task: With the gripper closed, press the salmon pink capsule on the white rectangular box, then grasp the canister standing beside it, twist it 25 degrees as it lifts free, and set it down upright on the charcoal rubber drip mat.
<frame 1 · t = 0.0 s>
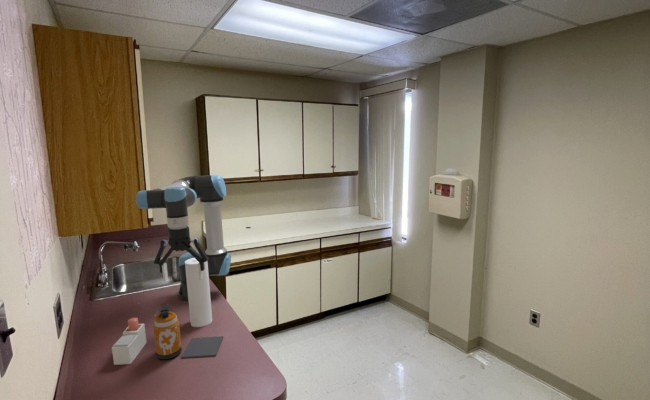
hand: (183, 279, 137), 28 cm above the countertop, fingers open, 13 cm apart
canister: (169, 352, 136), on the countertop
salmon pink capsule: (133, 329, 139), point 8 cm above the countertop, slide at 0.0 cm
white rectangular box: (131, 353, 136), on the countertop
cylinder container: (201, 322, 159), on the countertop
drip mat: (203, 347, 139), on the countertop
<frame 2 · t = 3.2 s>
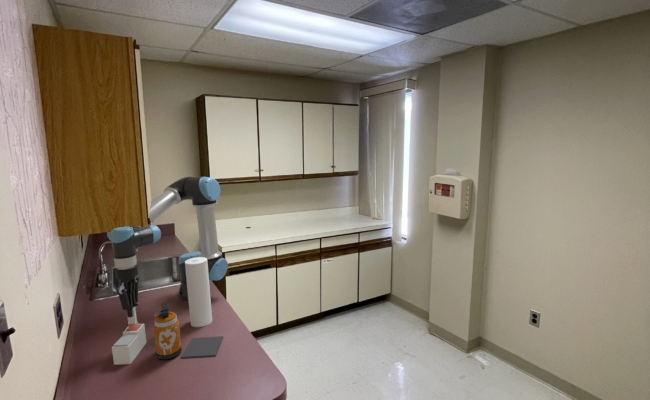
hand: (132, 322, 138), 11 cm above the countertop, fingers closed
salmon pink capsule: (134, 332, 139), point 6 cm above the countertop, slide at 1.5 cm, touching gripper
everything else where it was.
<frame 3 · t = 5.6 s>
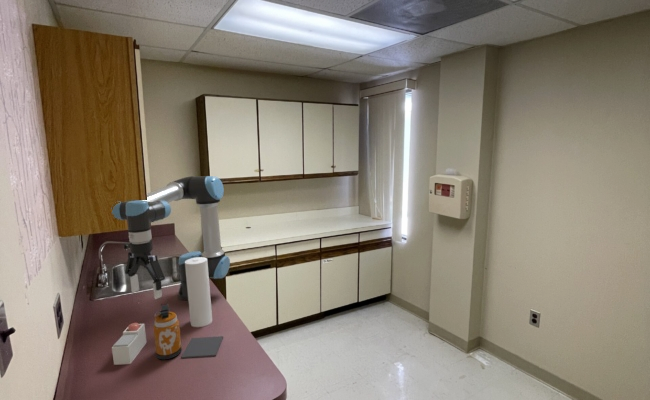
hand: (146, 294, 134), 24 cm above the countertop, fingers open, 13 cm apart
salmon pink capsule: (134, 334, 139), point 6 cm above the countertop, slide at 2.3 cm
everything else where it was.
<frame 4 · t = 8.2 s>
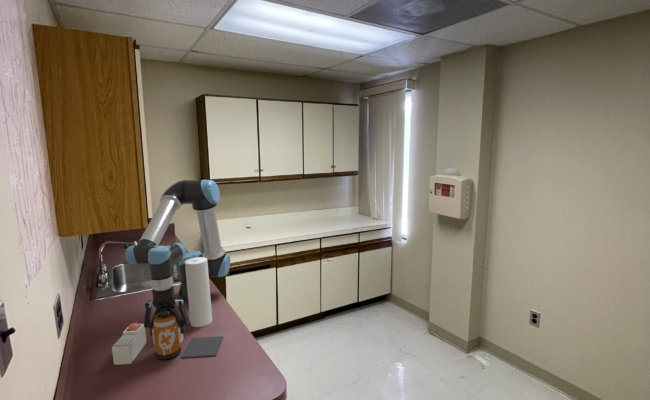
hand: (168, 341, 135), 5 cm above the countertop, fingers closed on canister, 9 cm apart
canister: (169, 352, 136), on the countertop, touching gripper
everything else where it was.
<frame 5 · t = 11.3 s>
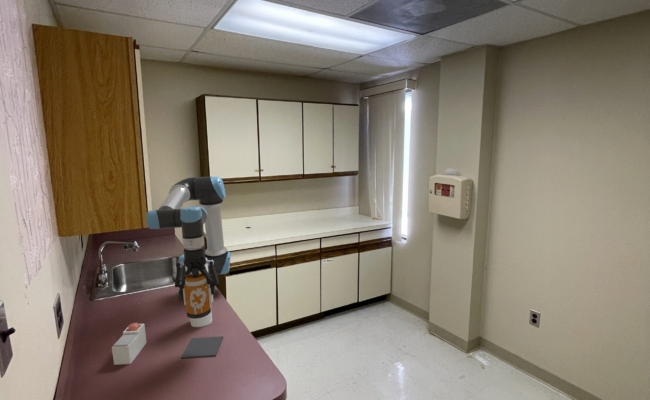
hand: (198, 302, 136), 19 cm above the countertop, fingers closed on canister, 9 cm apart
canister: (199, 313, 137), point 15 cm above the countertop, touching gripper
everything else where it was.
when the fingers open (6 cm above the countertop, at t = 14.1 s): canister drops 1 cm, resting on drip mat.
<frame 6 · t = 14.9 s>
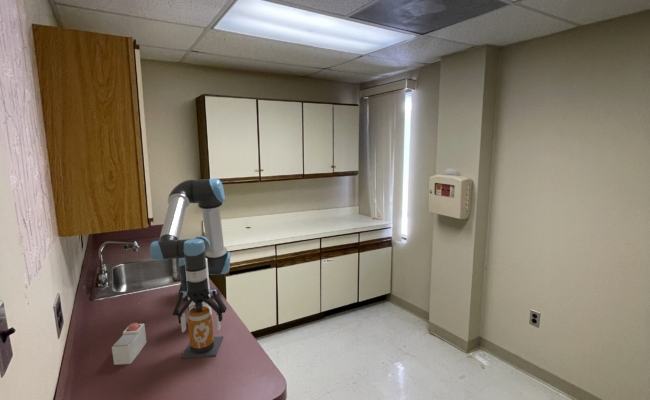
hand: (201, 329, 138), 8 cm above the countertop, fingers open, 13 cm apart
canister: (202, 346, 139), resting on drip mat
everything else where it was.
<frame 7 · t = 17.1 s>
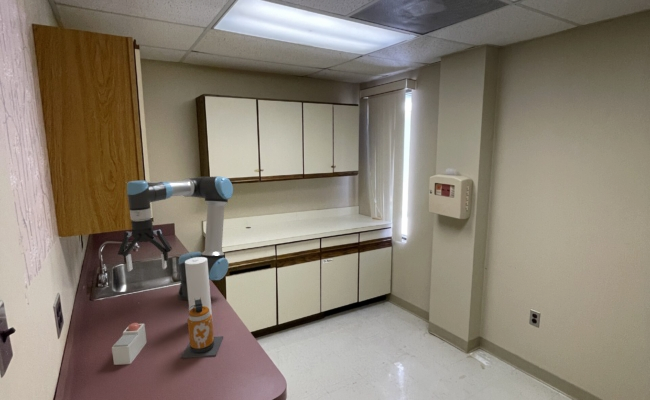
hand: (147, 269, 143), 30 cm above the countertop, fingers open, 13 cm apart
nothing on the countertop moved.
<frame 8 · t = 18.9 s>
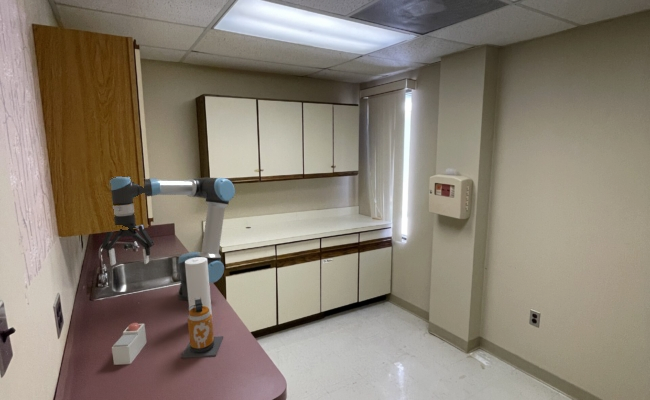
hand: (130, 263, 146), 32 cm above the countertop, fingers open, 13 cm apart
nothing on the countertop moved.
at the end: canister inside the target area (0.3 cm from its centre), resting on drip mat; canister tilted 0°; salmon pink capsule slide at 2.3 cm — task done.
